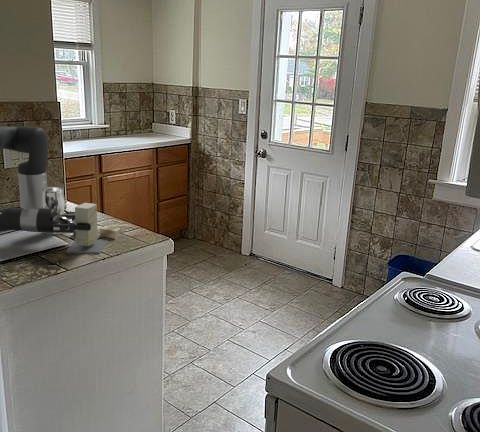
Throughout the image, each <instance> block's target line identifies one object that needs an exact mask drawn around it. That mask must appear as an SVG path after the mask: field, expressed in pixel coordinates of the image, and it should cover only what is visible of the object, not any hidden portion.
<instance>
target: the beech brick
mask: <svg viewBox="0 0 480 432" xmlns="http://www.w3.org/2000/svg"><path fill="white" fill-rule="evenodd" d="M99 236H100V237H103V238H107V239H114V240H117V239H119V238H120V236H122V235H121V228H120V227H113V226H108V225H104V226H102V227H100V228H99Z"/></svg>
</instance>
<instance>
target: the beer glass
mask: <svg viewBox="0 0 480 432" xmlns="http://www.w3.org/2000/svg"><path fill="white" fill-rule="evenodd" d="M64 193H65V192H64V188H63V187H59V186H47V187H46V188H43V189H42V205H43V208H47V209H55V210H56V211H57V213H58V215H62V214H65V213H64V212H65V203H66V202H65V194H64ZM46 234H47V235H50V236H51V235H52V236H55V235H61V234H63V233H59V232H54V233H46Z"/></svg>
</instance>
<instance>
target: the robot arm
mask: <svg viewBox="0 0 480 432" xmlns="http://www.w3.org/2000/svg"><path fill="white" fill-rule="evenodd" d="M47 135H48V134H47V133H46V131H45V130H44V128H41V127H38V126H37V127H36V126H28V125H16V126H15V125H12V126H1V125H0V150H3V149H4V150H10V151H15V152H18V153H23V154H28V160H27V161H24V162H20V163H19V164H18V166H17V176H18V187H19V189H18V191H19V201H20V202H19V203H20V207H7V208H5V209H4V210H3V211H2V212H0V232H1V233H2V232H7V231H22V232H29V233H30V232H31V233H43V234H44V233H45V234H47V233H54V232H59V233H62V234H63V233H64V234H65V233H67V234H73V233H74V231H78V230H86V231H90V230H91V224H90V223H77V222H75V211H71V210H70V211H69V210H67V211H64V212H65V213H64V214H62V215H58V213H57V211H56V210H55V209H47V208H43V205H42V189H43V188H46V187H48V179H47V166H48V159H49V158H48V157H49V156H48V154H49V153H48V149H49V148H48V147H49V145H48V136H47Z"/></svg>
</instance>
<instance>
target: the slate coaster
mask: <svg viewBox="0 0 480 432" xmlns="http://www.w3.org/2000/svg"><path fill="white" fill-rule="evenodd" d="M106 244H107V240H98V239H97V241H95V242H94V243H92V244H91V245H89V246H84V245H78V244H76V238H75V239H74V241H73V242H72V243H71V244H70V246H69V247H68V249H66V253H69V254H93V255H94V254H96V255H100V254H101V253H102V251H103V250H104V248H105V247H106Z"/></svg>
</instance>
